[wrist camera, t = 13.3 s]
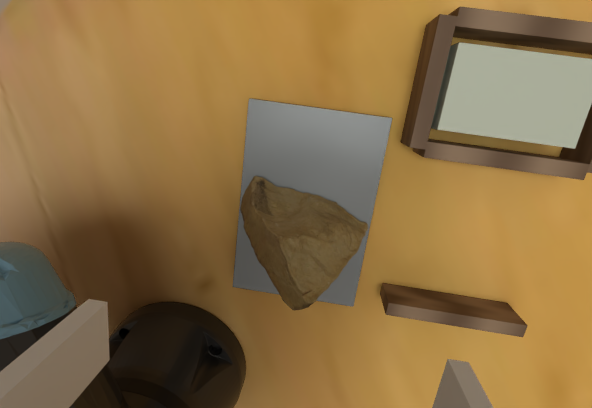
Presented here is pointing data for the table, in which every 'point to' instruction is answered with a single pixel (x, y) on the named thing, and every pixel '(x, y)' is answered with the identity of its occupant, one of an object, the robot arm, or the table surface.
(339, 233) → the rock
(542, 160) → the brown frame and bar
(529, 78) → the pale grey-green block
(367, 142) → the board
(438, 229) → the table surface
